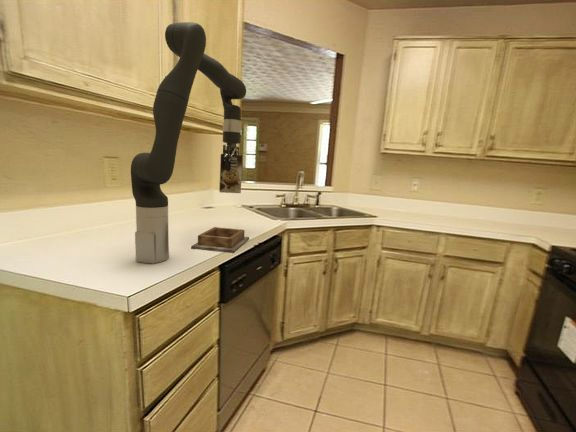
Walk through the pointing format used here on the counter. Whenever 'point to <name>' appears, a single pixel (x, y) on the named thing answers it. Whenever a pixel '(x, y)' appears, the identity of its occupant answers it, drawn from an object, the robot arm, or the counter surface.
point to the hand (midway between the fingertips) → (230, 170)
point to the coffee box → (231, 175)
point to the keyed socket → (221, 240)
